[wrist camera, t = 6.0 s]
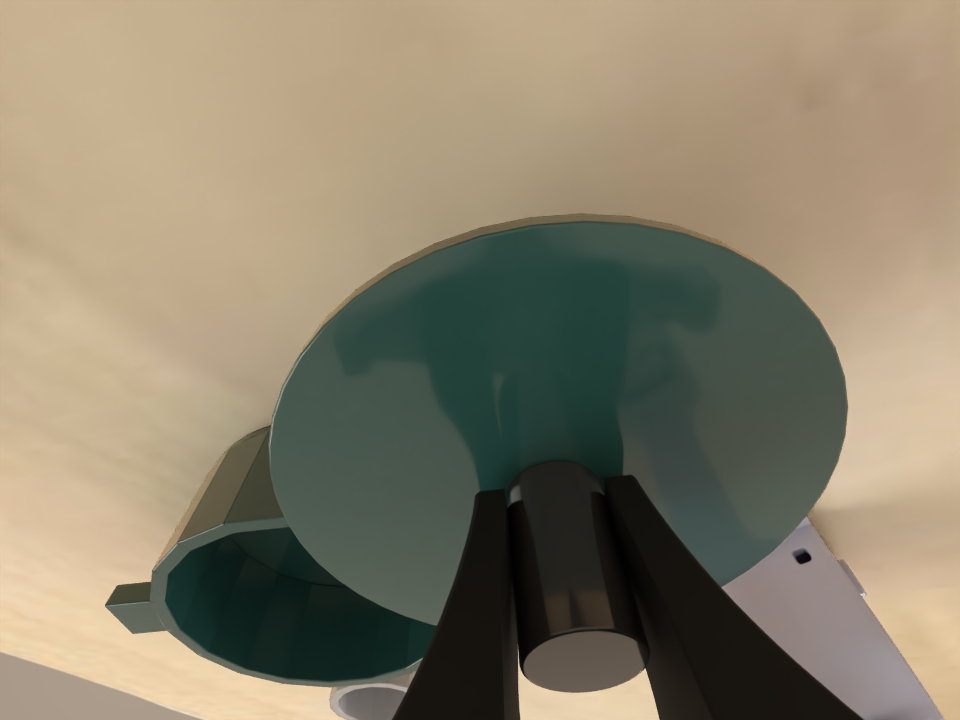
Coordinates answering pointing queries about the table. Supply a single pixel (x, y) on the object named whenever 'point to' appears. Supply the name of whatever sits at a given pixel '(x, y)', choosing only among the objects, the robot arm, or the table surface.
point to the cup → (370, 699)
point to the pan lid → (557, 423)
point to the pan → (264, 591)
